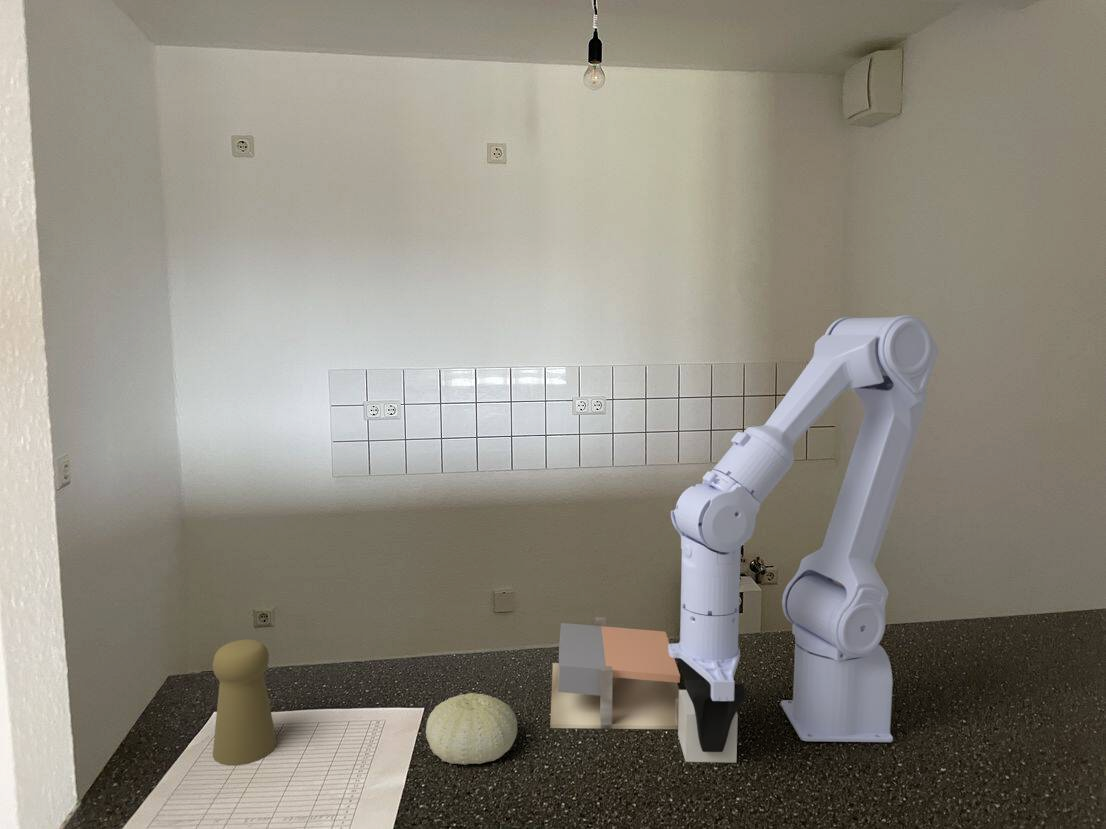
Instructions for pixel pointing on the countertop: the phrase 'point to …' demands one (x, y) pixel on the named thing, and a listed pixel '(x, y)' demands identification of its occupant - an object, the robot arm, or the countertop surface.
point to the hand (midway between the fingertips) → (706, 734)
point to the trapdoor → (611, 656)
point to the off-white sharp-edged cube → (690, 735)
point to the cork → (242, 704)
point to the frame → (616, 703)
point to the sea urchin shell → (471, 729)
